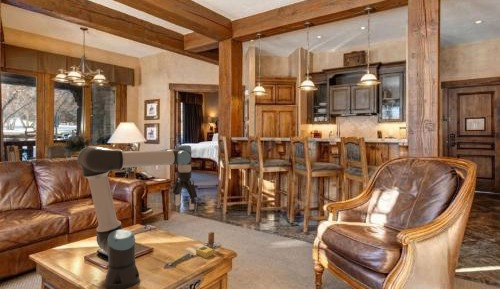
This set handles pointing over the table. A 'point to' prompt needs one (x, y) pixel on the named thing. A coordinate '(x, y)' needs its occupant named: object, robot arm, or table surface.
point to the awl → (211, 240)
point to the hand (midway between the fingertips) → (184, 207)
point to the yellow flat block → (204, 251)
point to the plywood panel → (192, 250)
